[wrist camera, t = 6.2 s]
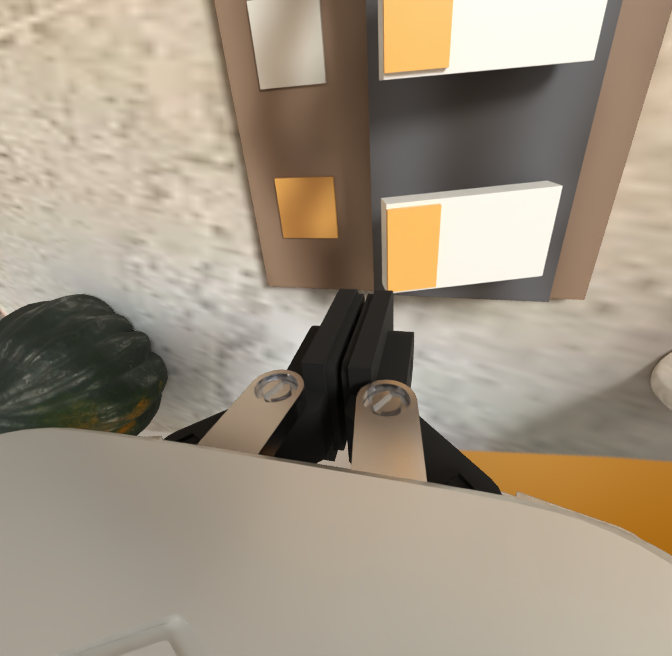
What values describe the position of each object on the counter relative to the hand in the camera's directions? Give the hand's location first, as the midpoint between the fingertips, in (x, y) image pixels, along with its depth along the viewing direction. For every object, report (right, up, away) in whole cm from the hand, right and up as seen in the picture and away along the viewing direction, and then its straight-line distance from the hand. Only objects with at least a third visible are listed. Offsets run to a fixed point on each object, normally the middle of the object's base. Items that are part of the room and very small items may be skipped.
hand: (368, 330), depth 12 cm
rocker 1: (+5, +12, +1) cm, 13 cm away
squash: (-24, -1, +28) cm, 37 cm away
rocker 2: (+5, +4, +6) cm, 9 cm away
